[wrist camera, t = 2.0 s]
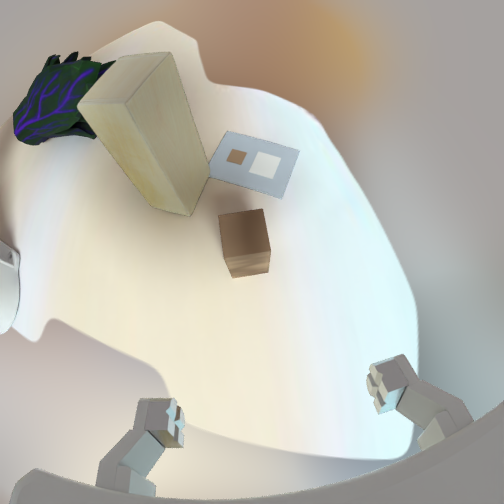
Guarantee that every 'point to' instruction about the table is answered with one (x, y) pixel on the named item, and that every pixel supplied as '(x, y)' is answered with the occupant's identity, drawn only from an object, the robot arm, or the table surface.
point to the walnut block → (245, 242)
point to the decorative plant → (57, 100)
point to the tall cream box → (149, 129)
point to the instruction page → (253, 163)
